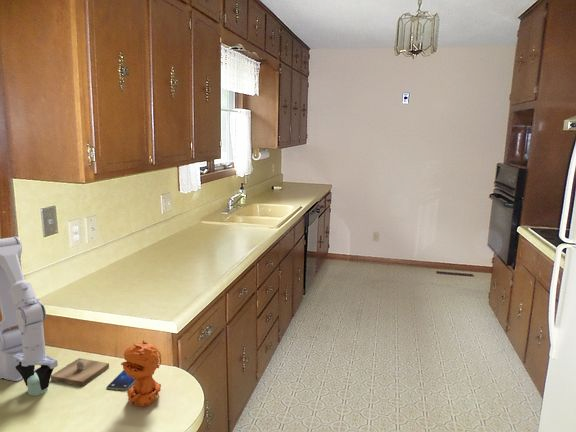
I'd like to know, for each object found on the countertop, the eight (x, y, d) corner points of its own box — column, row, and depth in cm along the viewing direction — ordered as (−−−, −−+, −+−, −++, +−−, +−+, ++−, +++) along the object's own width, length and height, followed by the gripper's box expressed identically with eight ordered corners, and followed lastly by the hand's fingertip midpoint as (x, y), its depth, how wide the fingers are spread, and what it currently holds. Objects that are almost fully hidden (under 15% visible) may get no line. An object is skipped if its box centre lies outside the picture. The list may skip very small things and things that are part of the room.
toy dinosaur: (122, 394, 131) (118, 337, 128) (160, 386, 135) (157, 331, 132) (124, 415, 121) (120, 353, 118) (165, 406, 125) (162, 346, 122)
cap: (24, 393, 131) (23, 380, 130) (38, 385, 136) (37, 372, 135) (37, 396, 129) (36, 383, 129) (51, 387, 134) (50, 374, 133)
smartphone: (104, 387, 133) (129, 363, 148) (104, 390, 134) (129, 366, 148) (127, 389, 132) (149, 365, 147) (127, 392, 132) (150, 367, 147)
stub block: (51, 380, 138) (50, 367, 138) (79, 362, 150) (78, 349, 149) (82, 386, 135) (81, 372, 134) (109, 367, 146) (108, 354, 146)
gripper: (2, 346, 128) (6, 389, 131) (42, 353, 124) (46, 397, 126) (22, 336, 135) (27, 377, 137) (61, 342, 131) (65, 385, 133)
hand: (37, 386), depth 132 cm, fingers closed on cap, 5 cm apart
